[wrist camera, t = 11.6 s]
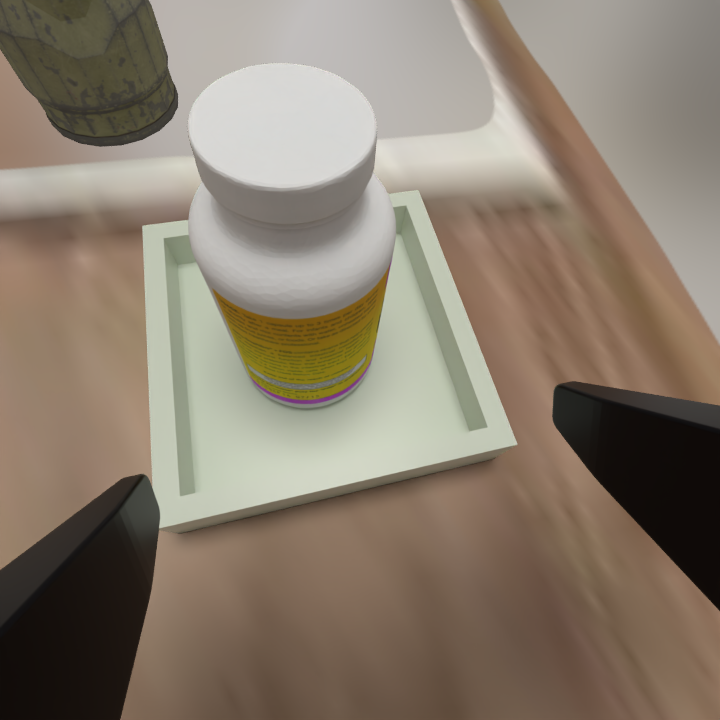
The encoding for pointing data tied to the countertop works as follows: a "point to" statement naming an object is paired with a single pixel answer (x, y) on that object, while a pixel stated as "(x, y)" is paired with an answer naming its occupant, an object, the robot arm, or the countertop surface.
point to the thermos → (91, 66)
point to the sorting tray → (318, 424)
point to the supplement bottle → (292, 226)
